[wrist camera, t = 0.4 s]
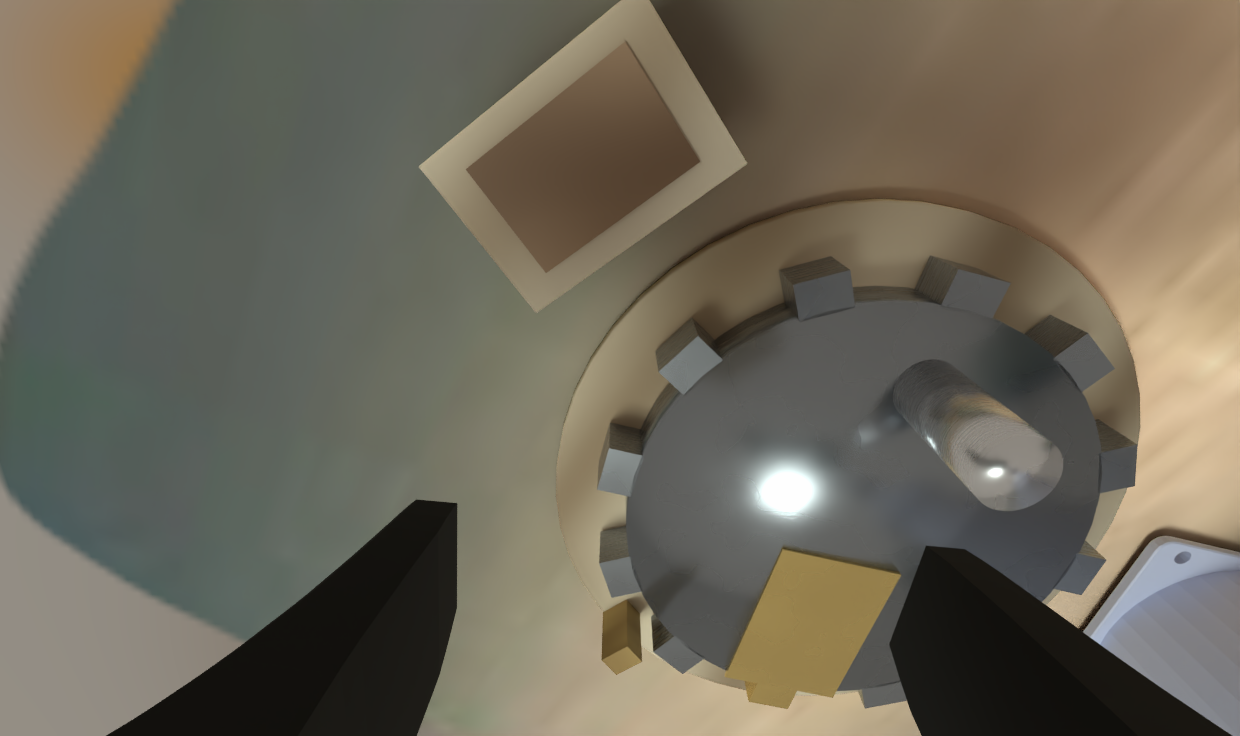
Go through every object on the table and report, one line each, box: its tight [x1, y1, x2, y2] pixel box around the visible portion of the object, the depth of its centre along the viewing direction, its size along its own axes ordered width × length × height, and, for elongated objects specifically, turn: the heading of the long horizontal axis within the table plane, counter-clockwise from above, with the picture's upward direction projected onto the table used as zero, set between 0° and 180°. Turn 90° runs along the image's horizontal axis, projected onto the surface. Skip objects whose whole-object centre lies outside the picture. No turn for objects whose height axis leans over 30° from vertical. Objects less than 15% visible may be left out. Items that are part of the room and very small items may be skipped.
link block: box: [419, 0, 747, 313], centre depth 14 cm, size 4×5×5 cm
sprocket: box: [597, 255, 1137, 709], centre depth 17 cm, size 15×15×6 cm
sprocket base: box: [556, 199, 1140, 696], centre depth 19 cm, size 18×18×3 cm
